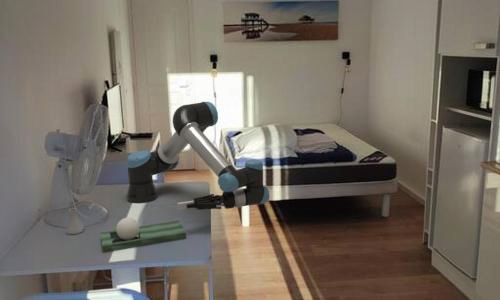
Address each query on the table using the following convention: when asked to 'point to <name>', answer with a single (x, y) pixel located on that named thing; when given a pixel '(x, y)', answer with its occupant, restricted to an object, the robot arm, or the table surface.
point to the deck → (144, 236)
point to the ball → (127, 228)
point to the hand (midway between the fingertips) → (178, 206)
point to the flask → (74, 223)
